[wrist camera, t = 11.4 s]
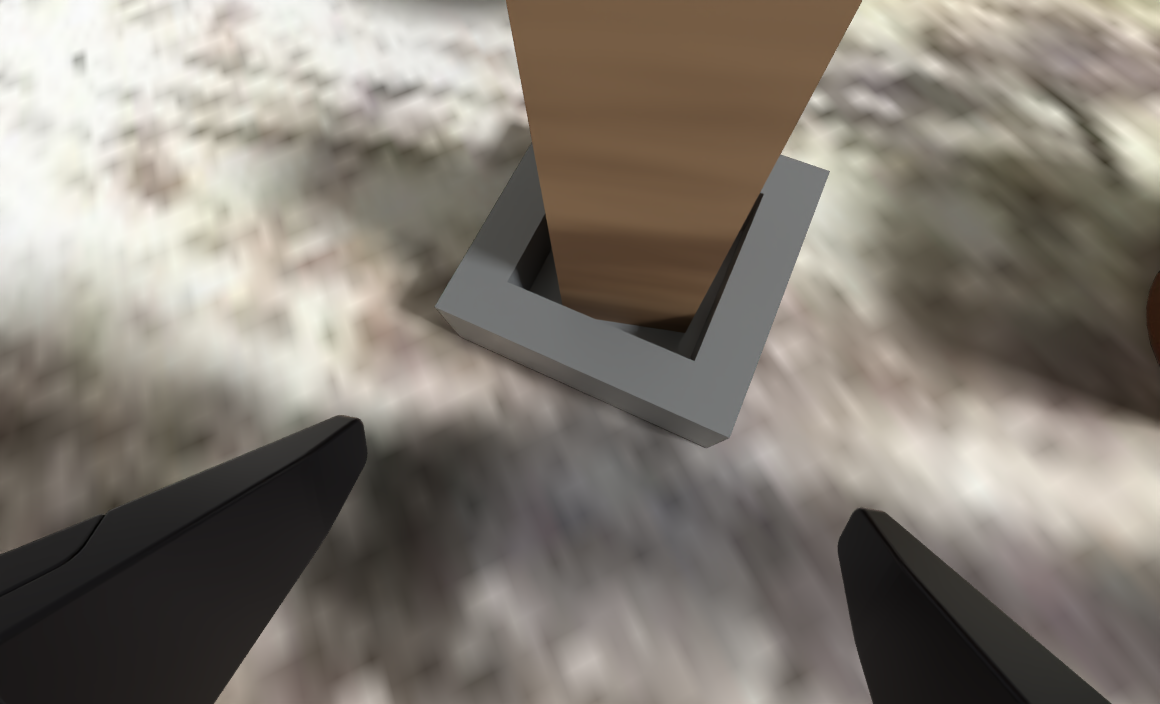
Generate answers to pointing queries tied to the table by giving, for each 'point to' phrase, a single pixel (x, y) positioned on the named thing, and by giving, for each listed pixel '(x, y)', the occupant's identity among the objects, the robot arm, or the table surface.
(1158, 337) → the food container
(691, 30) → the tall wooden post
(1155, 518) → the table surface
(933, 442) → the table surface
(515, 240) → the socket
